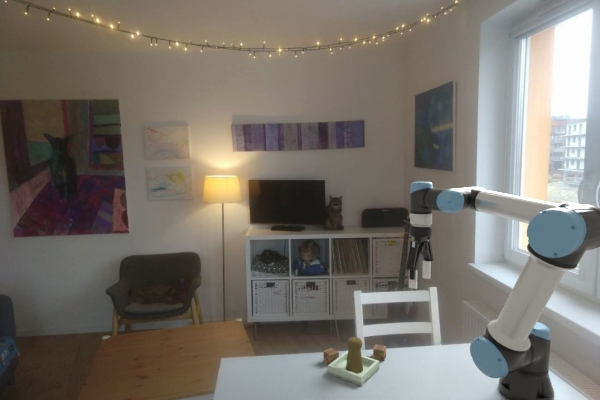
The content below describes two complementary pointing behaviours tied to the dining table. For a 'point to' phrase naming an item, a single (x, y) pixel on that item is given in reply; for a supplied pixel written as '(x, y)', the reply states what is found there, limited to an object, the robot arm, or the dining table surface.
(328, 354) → the walnut cube
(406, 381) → the dining table surface
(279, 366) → the dining table surface
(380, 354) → the walnut cube
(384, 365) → the dining table surface
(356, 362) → the olive tall rounded piece
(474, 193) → the robot arm
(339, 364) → the tray
